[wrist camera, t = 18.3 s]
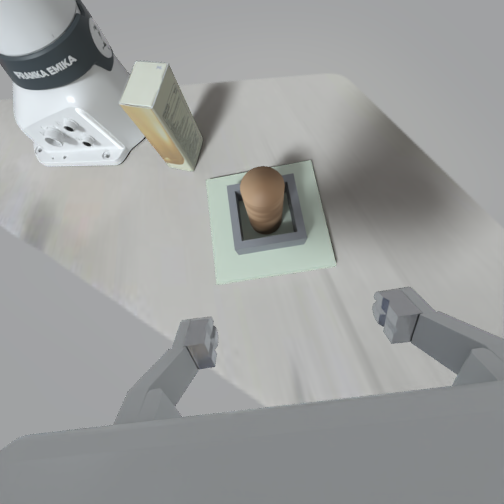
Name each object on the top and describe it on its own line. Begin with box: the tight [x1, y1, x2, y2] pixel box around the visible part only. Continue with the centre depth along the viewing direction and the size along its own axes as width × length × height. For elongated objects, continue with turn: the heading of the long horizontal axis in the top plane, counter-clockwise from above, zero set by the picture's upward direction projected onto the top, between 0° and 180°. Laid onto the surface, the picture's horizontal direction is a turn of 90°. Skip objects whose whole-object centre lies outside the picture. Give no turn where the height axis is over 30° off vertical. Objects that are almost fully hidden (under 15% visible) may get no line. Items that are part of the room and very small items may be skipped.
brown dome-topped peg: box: [240, 166, 285, 235], centre depth 26 cm, size 4×4×9 cm
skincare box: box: [119, 61, 203, 171], centre depth 30 cm, size 6×4×12 cm
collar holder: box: [206, 160, 336, 285], centre depth 30 cm, size 16×16×4 cm
